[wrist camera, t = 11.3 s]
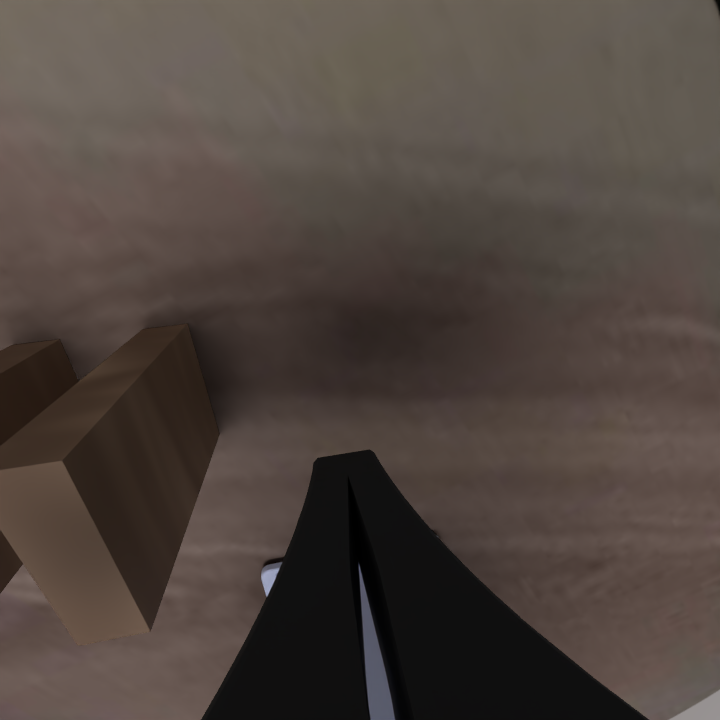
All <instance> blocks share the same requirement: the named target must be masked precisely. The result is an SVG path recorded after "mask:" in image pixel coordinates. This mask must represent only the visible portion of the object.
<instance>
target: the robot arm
mask: <svg viewBox="0 0 720 720" xmlns="http://www.w3.org/2000/svg"><path fill="white" fill-rule="evenodd" d="M261 579H262V583H263V586H264V590H265V593H266V597H267V598H266V600H265V602H264V604H263V606H262V608H261V611H260V613H259V615H258V617H257V619H256V621H255V623H254V625H253V626H252V628H251V630H250V632H249V634H248V636H247V638H246V640H245V642H244V644H243V646H242V648H241V650H240V651H239V653H238V655H237V657H236V659H235V661H234V662H233V664H232V666H231V668H230V670H229V672H228V673H227V675H226V677H225V679H224V681H223V682H222V684H221V686H220V688H219V690H218V692H217V693H216V695H215V697H214V699H213V700H212V702H211V704H210V705H209V707H208V709H207V711H206V712H205V714H204V716H203V717H202V719H201V720H649V719H647V718H646V717H645V716H643V715H642V714H641V713H639V712H638V711H637V710H635V709H634V708H633V707H631V706H630V705H629V704H627V703H626V702H625V701H623V700H622V699H621V698H620V697H618V696H617V695H616V694H614V693H613V692H612V691H610V690H609V689H608V688H606V687H605V686H604V685H602V684H601V683H600V682H598V681H597V680H596V679H594V678H593V677H592V676H591V675H590V674H588V673H587V672H586V671H585V670H583V669H582V668H581V667H580V666H579V665H577V664H576V663H575V662H574V661H572V660H571V659H570V658H569V657H568V656H566V655H565V654H564V653H563V652H561V651H560V650H559V649H558V648H557V647H555V646H554V645H553V644H552V643H550V642H549V641H548V640H547V639H546V638H544V637H543V636H542V635H541V634H539V633H538V632H537V631H536V630H535V629H533V628H532V627H531V626H530V625H528V624H527V623H526V622H525V621H524V620H523V619H521V618H520V617H519V616H518V615H517V614H516V613H515V612H514V611H513V610H511V609H510V608H509V607H508V606H507V605H506V604H505V603H504V602H503V601H501V600H500V599H499V598H498V597H497V596H496V595H495V594H494V593H493V592H492V591H491V590H489V589H488V588H487V587H486V586H485V585H484V584H483V583H482V582H481V581H480V580H479V579H478V578H477V577H476V576H475V575H474V574H473V573H472V572H471V571H470V570H469V569H468V568H467V567H466V566H465V565H464V564H463V563H462V562H461V561H460V560H459V559H458V558H457V557H456V556H455V555H454V554H453V553H452V552H451V551H450V550H449V549H448V548H447V547H446V546H445V544H444V543H443V542H442V541H441V540H440V539H439V537H438V536H437V535H435V534H434V532H433V531H432V530H431V529H430V528H429V527H428V526H427V524H426V523H425V522H424V521H423V520H422V519H421V517H420V516H419V515H418V514H417V512H416V511H415V510H414V509H413V508H412V506H411V505H410V504H409V503H408V501H407V500H406V499H405V498H404V496H403V495H402V494H401V492H400V491H399V490H398V488H397V487H396V486H395V484H394V483H393V481H392V480H391V479H390V477H389V476H388V474H387V473H386V471H385V470H384V468H383V467H382V465H381V464H380V462H379V460H378V458H377V457H376V455H375V453H374V452H372V451H371V450H364V451H358V452H352V453H345V454H339V455H333V456H327V457H321V458H317V459H316V461H315V462H314V463H313V471H312V476H311V481H310V485H309V489H308V492H307V496H306V499H305V502H304V506H303V509H302V511H301V514H300V517H299V520H298V523H297V526H296V529H295V532H294V534H293V537H292V540H291V542H290V545H289V547H288V550H287V552H286V554H285V557H284V559H283V562H279V563H274V564H269V565H266V566H265V567H264V568H263V569H262V573H261Z"/></svg>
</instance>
